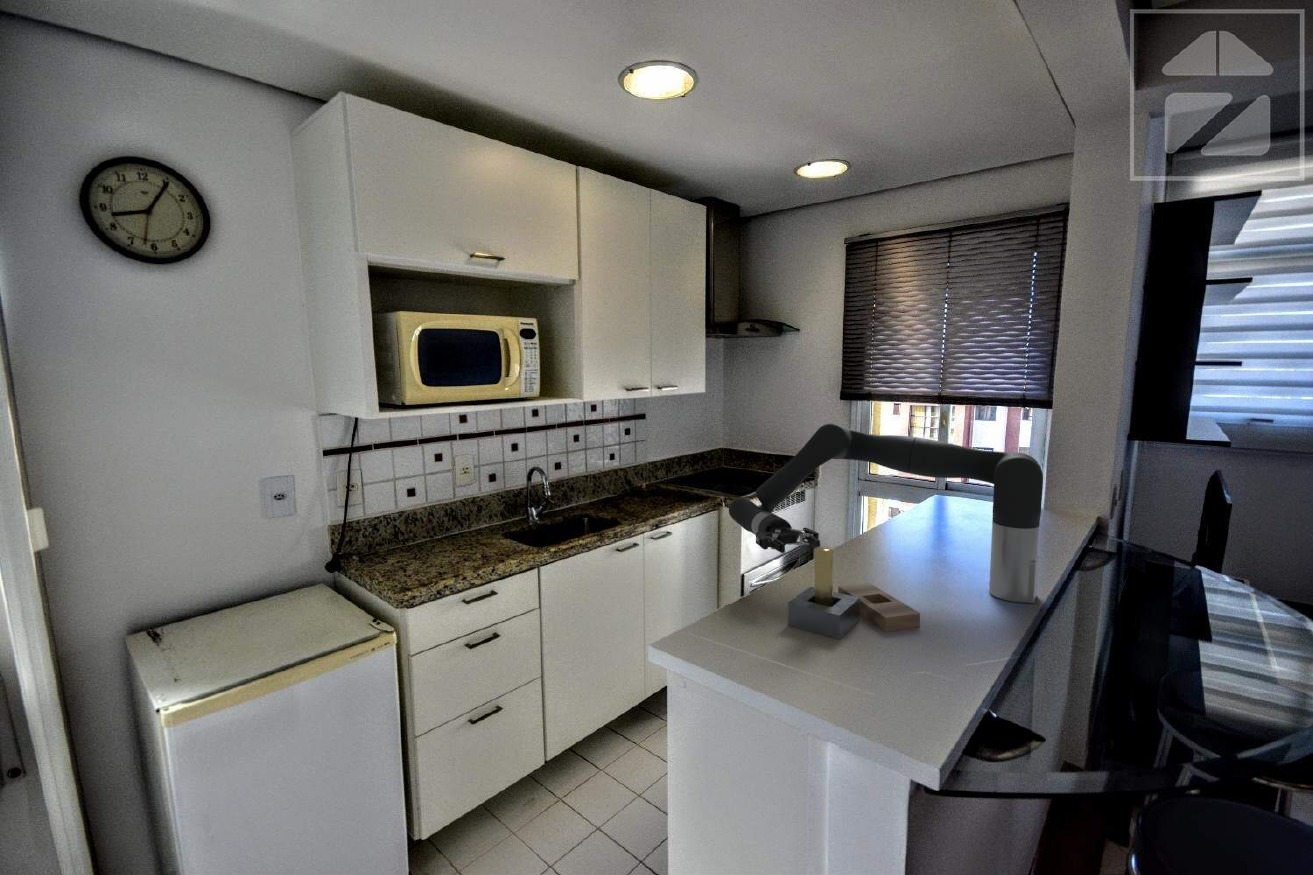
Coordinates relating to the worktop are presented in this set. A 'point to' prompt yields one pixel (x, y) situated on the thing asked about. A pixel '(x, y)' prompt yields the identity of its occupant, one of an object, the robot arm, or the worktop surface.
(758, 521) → the robot arm
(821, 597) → the axle
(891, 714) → the worktop surface
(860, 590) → the beam
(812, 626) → the seat block
